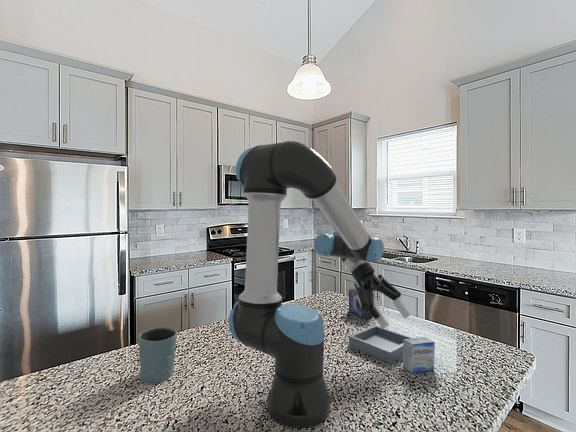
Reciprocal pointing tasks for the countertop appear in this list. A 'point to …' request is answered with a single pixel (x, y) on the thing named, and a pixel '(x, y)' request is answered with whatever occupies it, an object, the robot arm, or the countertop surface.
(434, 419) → the countertop surface
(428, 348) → the medicine box
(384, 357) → the grey tray
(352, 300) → the small box
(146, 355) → the teal cup
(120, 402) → the countertop surface
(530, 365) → the countertop surface
